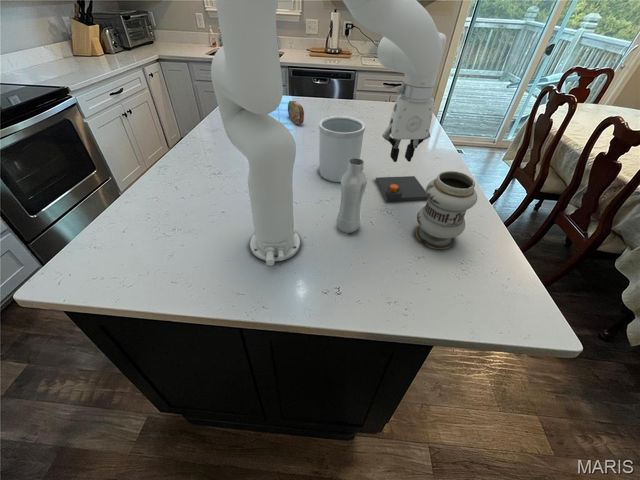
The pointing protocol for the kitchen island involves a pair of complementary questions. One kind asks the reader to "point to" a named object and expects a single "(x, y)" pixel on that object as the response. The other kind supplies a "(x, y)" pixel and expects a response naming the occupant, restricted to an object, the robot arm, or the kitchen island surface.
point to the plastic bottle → (351, 196)
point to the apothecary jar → (445, 209)
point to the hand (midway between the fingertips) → (400, 159)
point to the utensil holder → (339, 145)
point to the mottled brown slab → (295, 112)
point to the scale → (401, 189)
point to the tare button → (393, 188)
